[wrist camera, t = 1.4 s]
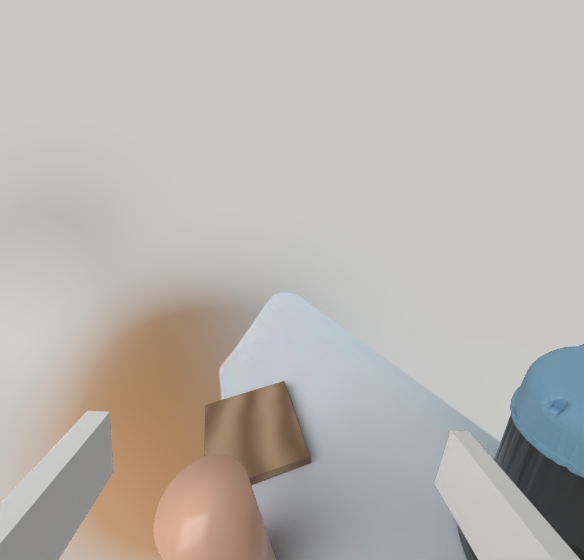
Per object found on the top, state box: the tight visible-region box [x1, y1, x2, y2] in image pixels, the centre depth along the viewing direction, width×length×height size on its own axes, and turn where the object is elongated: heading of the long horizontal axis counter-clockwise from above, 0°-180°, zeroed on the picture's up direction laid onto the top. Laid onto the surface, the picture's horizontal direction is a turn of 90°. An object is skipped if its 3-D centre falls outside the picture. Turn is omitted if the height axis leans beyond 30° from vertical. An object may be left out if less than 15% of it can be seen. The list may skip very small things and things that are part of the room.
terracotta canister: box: [154, 454, 276, 560], centre depth 24 cm, size 7×7×16 cm
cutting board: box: [204, 381, 310, 485], centre depth 41 cm, size 14×14×2 cm
